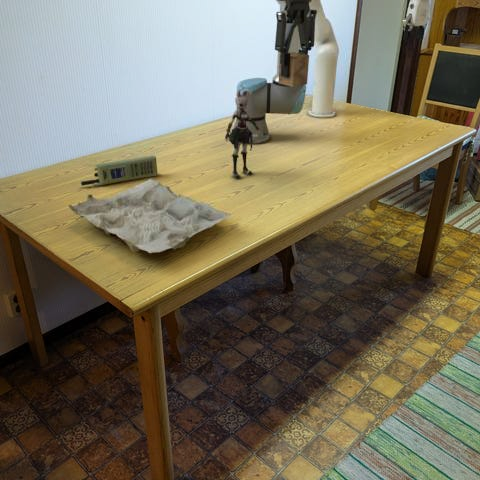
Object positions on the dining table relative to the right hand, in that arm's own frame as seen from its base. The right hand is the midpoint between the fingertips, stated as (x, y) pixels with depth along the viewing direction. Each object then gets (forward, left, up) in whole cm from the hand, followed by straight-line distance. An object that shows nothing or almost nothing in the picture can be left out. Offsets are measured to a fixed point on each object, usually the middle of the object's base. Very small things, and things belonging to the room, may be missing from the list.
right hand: (412, 39), depth 216 cm
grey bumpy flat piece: (+109, -96, -34) cm, 149 cm away
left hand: (+80, -57, +1) cm, 98 cm away
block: (+80, -57, -2) cm, 98 cm away
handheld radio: (+78, -111, -34) cm, 140 cm away
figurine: (+70, -72, -34) cm, 106 cm away
